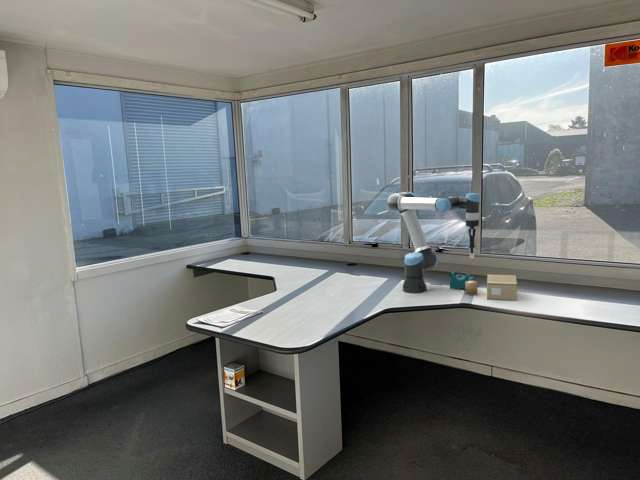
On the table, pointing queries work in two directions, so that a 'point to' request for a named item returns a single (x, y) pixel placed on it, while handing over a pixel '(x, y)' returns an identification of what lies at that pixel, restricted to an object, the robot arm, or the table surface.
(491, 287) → the carton
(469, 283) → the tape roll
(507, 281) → the lid
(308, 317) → the table surface
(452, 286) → the teal irregular block
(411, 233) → the robot arm
